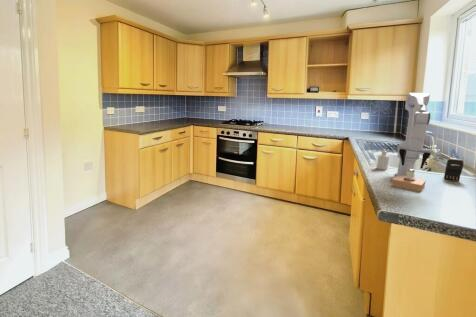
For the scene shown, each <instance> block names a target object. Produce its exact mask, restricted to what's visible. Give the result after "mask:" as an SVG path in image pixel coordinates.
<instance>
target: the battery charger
mask: <svg viewBox="0 0 476 317" xmlns="http://www.w3.org/2000/svg"><path fill="white" fill-rule="evenodd" d="M464 163H465V162H464V160H463V159H461V158H454V157H449V158H448V159H447V160H446V164H445V169H444V175H443V179H444V180H448V181H452V182H453V181H454V182H459V181H460V179H461V174H462V172H463V168H464Z"/></svg>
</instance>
